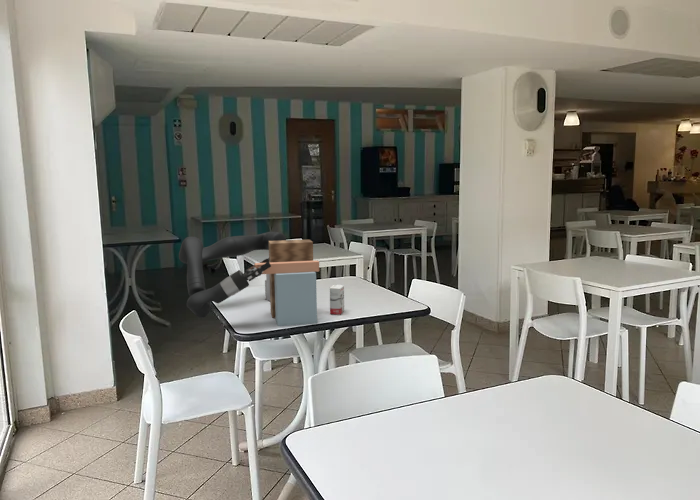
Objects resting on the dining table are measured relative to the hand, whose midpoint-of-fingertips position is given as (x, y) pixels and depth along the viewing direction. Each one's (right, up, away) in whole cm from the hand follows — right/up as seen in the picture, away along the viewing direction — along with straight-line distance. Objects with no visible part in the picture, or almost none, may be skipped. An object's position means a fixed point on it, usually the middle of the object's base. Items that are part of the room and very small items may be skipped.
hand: (269, 262), depth 223 cm
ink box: (+27, -23, +20) cm, 41 cm away
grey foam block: (+10, -25, +6) cm, 27 cm away
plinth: (+8, -23, +18) cm, 30 cm away
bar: (+7, -4, +2) cm, 9 cm away
